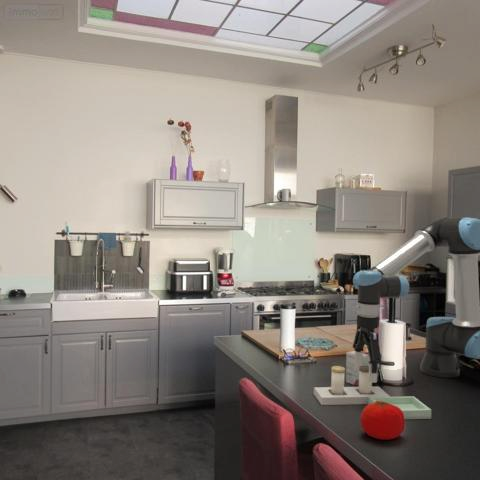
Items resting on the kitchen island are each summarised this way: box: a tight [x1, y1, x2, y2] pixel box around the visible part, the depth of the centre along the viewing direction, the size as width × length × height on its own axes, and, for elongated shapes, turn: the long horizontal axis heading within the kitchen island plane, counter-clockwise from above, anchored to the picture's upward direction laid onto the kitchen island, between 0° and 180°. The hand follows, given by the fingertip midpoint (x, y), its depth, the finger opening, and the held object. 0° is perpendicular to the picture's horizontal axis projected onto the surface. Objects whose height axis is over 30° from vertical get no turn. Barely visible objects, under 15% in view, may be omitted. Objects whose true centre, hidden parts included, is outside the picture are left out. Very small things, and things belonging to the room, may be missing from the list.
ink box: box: [345, 350, 370, 387], centre depth 188 cm, size 9×5×12 cm, turn 33°
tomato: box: [360, 401, 406, 441], centre depth 143 cm, size 11×13×10 cm
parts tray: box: [368, 395, 432, 420], centre depth 162 cm, size 16×12×3 cm
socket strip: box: [313, 365, 391, 406], centre depth 173 cm, size 24×10×11 cm, turn 97°
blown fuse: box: [359, 366, 373, 395], centre depth 173 cm, size 5×5×11 cm
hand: (365, 375), depth 173 cm, fingers open, 13 cm apart
